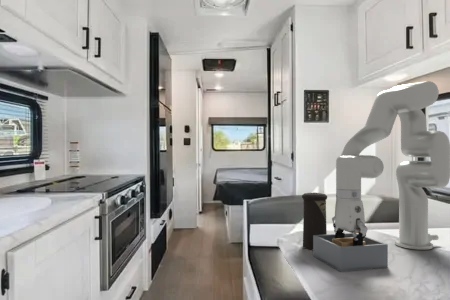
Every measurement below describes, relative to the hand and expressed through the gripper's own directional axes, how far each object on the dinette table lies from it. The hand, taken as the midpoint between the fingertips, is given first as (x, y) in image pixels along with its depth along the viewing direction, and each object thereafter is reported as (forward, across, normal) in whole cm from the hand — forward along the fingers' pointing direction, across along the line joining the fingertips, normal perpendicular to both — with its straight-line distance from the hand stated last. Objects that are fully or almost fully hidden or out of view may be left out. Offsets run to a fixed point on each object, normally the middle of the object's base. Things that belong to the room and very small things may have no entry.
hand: (348, 248), depth 111 cm
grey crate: (+4, 0, 0) cm, 4 cm away
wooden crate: (+3, 0, 0) cm, 3 cm away
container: (+4, +18, +2) cm, 19 cm away
